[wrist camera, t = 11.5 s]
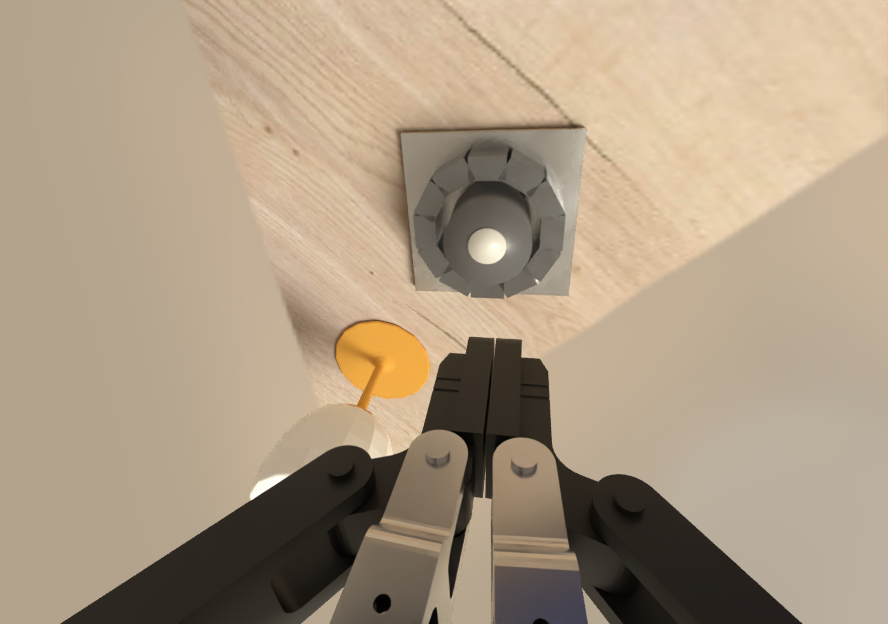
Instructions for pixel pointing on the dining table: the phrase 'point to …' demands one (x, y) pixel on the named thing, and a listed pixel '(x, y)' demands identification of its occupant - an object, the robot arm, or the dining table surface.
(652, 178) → the dining table surface
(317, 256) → the dining table surface
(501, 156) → the segmented ring on plate
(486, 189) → the cap
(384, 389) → the cup
